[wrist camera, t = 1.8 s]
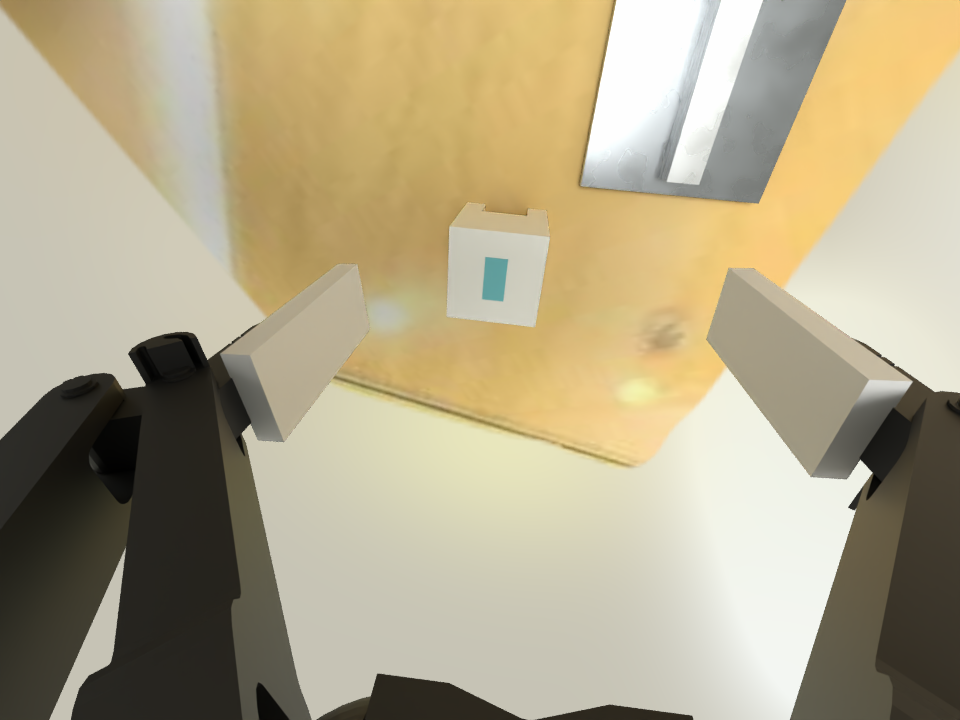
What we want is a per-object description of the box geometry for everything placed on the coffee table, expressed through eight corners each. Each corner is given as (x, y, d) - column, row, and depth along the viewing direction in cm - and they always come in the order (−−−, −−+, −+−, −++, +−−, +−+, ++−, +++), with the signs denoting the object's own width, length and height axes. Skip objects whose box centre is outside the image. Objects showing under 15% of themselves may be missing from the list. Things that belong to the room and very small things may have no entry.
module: (463, 277, 33) (446, 317, 27) (467, 202, 30) (449, 226, 23) (534, 285, 33) (534, 327, 26) (546, 210, 29) (550, 237, 23)
